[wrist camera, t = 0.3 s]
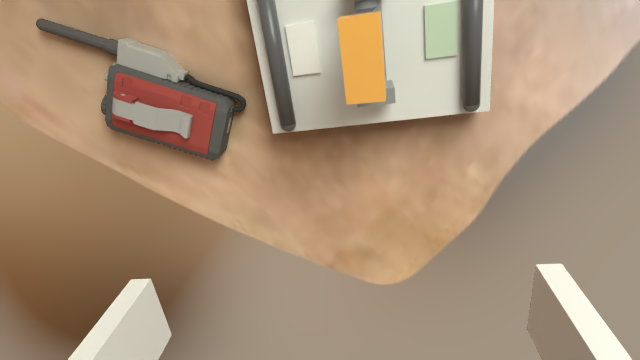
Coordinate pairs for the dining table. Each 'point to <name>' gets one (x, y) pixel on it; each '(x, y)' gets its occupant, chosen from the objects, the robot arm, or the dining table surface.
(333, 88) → the panel
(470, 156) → the dining table surface
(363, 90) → the lever
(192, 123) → the walkie-talkie
